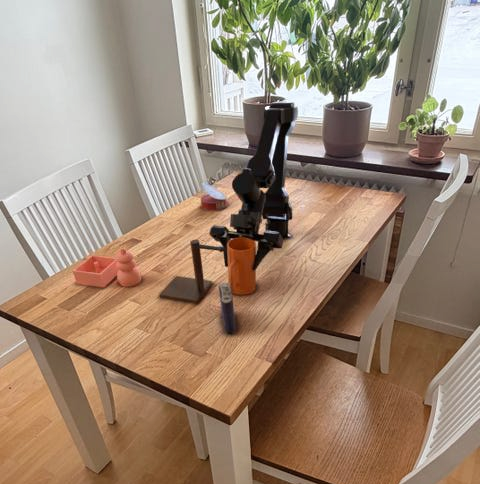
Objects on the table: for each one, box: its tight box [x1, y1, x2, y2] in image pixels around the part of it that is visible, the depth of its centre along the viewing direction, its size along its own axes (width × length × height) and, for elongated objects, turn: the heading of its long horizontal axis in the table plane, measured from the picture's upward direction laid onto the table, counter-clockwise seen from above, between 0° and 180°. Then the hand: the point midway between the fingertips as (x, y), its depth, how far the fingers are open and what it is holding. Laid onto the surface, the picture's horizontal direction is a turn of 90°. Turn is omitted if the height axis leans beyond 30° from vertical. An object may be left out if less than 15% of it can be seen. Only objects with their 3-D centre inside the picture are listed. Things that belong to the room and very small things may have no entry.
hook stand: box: [158, 239, 224, 304], centre depth 112 cm, size 10×18×15 cm, turn 70°
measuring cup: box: [227, 237, 257, 296], centre depth 111 cm, size 11×7×13 cm, turn 158°
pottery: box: [72, 248, 142, 288], centre depth 122 cm, size 18×10×10 cm, turn 72°
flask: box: [218, 282, 237, 336], centre depth 101 cm, size 9×3×11 cm, turn 8°
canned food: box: [200, 181, 228, 212], centre depth 164 cm, size 11×10×10 cm
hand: (239, 268), depth 111 cm, fingers closed on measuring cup, 7 cm apart
